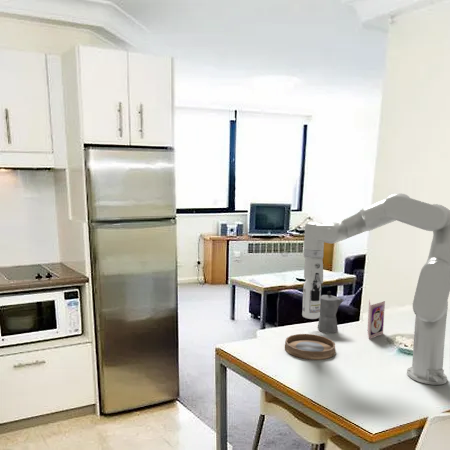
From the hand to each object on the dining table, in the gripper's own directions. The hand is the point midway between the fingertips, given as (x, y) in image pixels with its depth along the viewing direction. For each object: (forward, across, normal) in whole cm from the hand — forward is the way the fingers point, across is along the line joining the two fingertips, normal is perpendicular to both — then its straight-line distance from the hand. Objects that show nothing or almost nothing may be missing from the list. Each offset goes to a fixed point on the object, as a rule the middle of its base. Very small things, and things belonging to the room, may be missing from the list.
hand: (311, 297), depth 167 cm
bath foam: (+8, 0, 0) cm, 8 cm away
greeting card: (+22, +15, -33) cm, 42 cm away
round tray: (+21, 0, 0) cm, 21 cm away
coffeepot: (+22, +23, -15) cm, 35 cm away
